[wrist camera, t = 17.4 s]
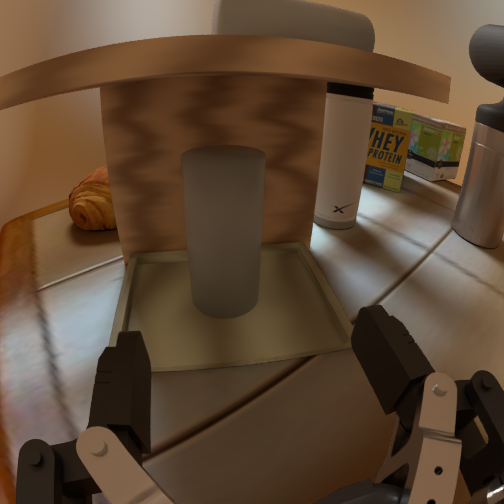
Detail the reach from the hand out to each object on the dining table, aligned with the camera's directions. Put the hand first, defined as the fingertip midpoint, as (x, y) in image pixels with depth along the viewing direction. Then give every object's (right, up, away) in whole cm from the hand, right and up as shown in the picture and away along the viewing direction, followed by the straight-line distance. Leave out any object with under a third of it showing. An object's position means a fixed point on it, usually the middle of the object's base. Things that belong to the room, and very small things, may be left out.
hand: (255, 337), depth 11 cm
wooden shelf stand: (-2, -1, +16) cm, 16 cm away
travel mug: (+11, +7, +30) cm, 33 cm away
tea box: (+45, +23, +56) cm, 75 cm away
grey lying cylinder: (-3, +20, +7) cm, 21 cm away
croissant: (-19, +9, +31) cm, 38 cm away
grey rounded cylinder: (-2, -1, +15) cm, 16 cm away
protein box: (+26, +19, +49) cm, 58 cm away
